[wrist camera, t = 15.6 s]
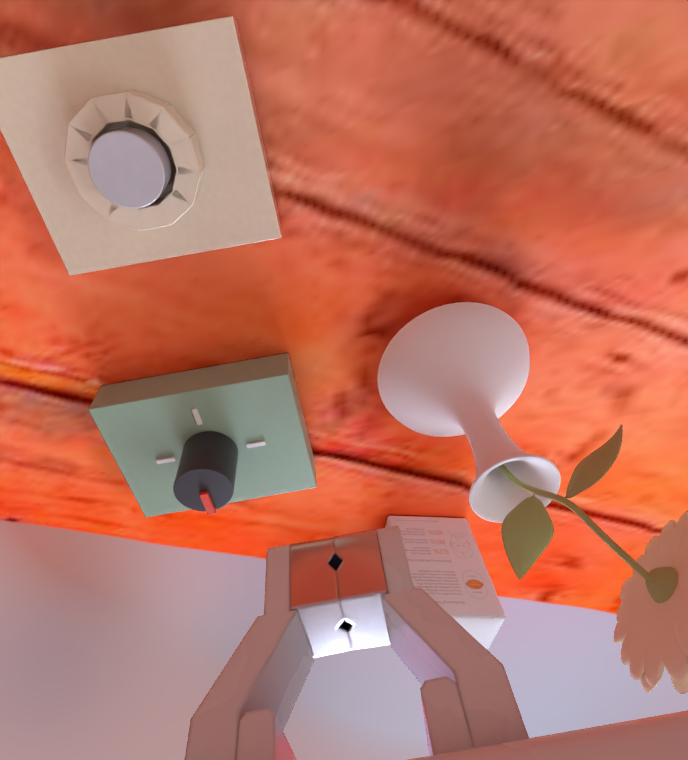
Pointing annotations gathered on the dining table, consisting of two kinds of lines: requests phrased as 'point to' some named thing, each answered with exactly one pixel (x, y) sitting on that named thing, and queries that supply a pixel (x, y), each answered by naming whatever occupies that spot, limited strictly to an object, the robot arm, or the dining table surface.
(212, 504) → the dial
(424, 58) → the dining table surface
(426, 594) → the robot arm
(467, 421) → the flower in vase
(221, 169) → the button base
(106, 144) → the grey round knob
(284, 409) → the dial console
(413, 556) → the small box
